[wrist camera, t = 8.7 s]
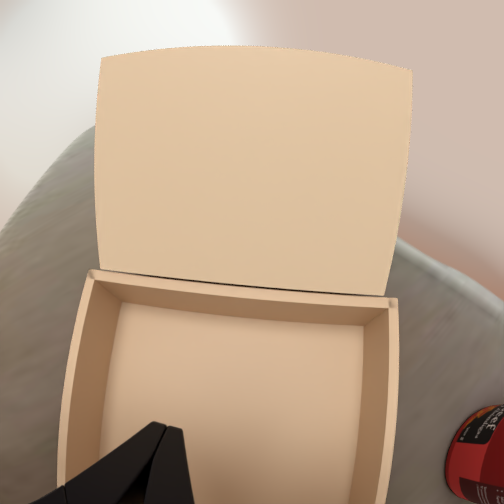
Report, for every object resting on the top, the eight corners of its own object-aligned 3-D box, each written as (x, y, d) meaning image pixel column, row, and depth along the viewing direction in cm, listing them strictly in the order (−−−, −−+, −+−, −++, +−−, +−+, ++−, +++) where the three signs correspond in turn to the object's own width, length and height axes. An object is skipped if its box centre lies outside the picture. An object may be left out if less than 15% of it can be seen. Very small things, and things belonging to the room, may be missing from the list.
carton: (348, 531, 14) (371, 560, 9) (93, 496, 15) (58, 513, 10) (368, 319, 21) (397, 298, 16) (119, 295, 21) (89, 269, 17)
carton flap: (412, 70, 12) (408, 72, 12) (101, 57, 13) (106, 59, 13) (383, 295, 16) (381, 291, 16) (100, 268, 17) (104, 265, 17)
